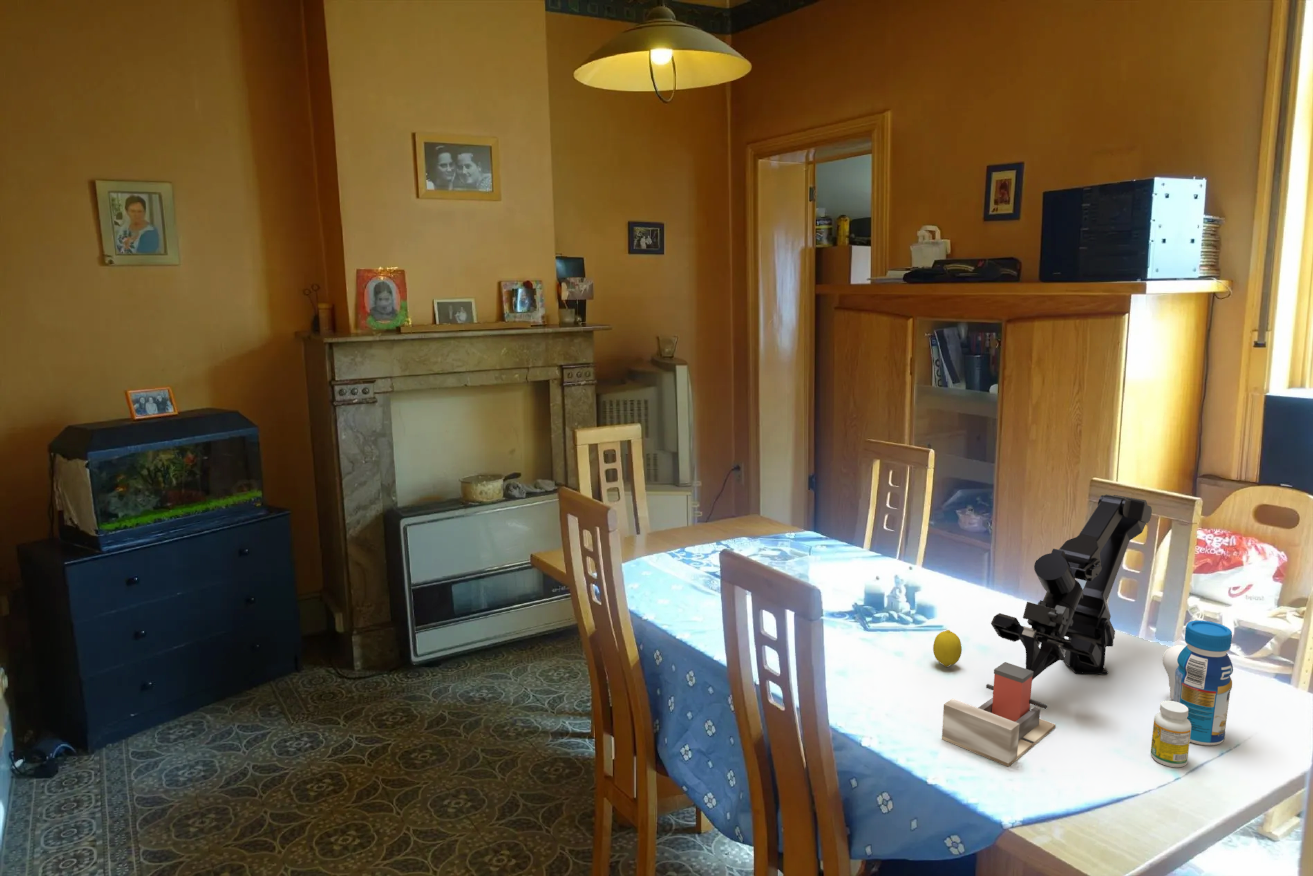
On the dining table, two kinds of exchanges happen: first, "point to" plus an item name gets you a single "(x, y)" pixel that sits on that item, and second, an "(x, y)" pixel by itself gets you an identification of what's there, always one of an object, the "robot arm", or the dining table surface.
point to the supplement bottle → (1171, 734)
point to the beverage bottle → (1205, 680)
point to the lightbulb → (1172, 664)
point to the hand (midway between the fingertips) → (1028, 679)
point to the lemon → (947, 648)
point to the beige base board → (992, 731)
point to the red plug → (1012, 691)
